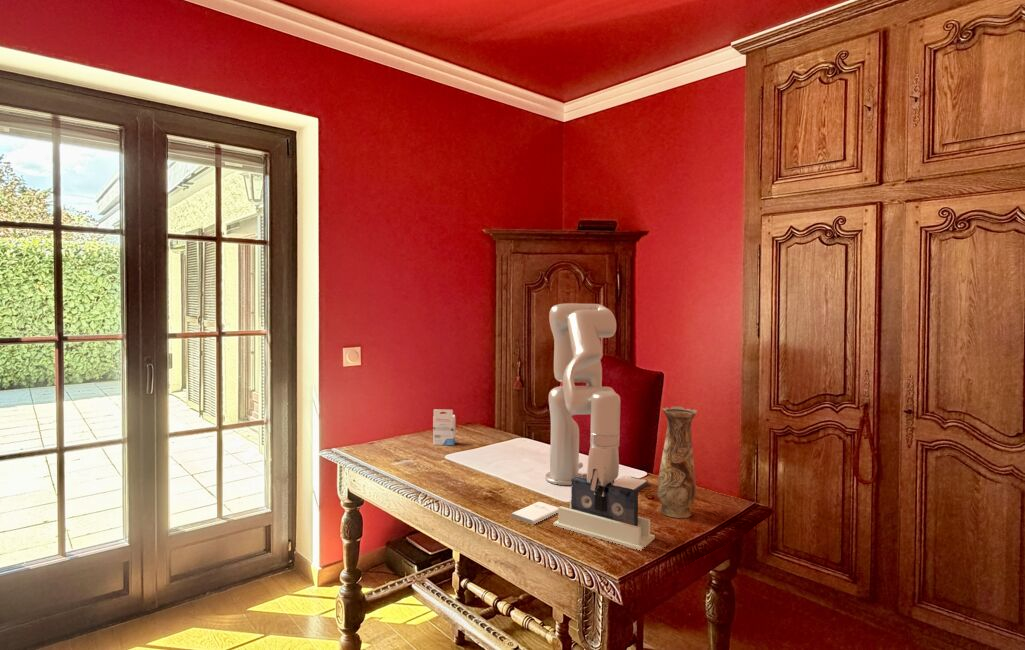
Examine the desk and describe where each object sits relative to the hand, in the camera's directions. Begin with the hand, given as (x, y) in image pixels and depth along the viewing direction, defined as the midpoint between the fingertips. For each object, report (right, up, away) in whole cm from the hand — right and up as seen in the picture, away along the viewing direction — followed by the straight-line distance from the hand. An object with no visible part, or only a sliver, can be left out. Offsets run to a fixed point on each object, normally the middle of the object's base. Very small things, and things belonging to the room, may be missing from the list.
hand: (603, 507), depth 148 cm
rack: (0, -6, 0) cm, 6 cm away
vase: (+23, -6, +14) cm, 28 cm away
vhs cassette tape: (0, -4, 0) cm, 4 cm away
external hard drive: (-17, -6, +12) cm, 22 cm away
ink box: (-52, -1, +84) cm, 99 cm away
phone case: (+13, -5, +35) cm, 37 cm away
